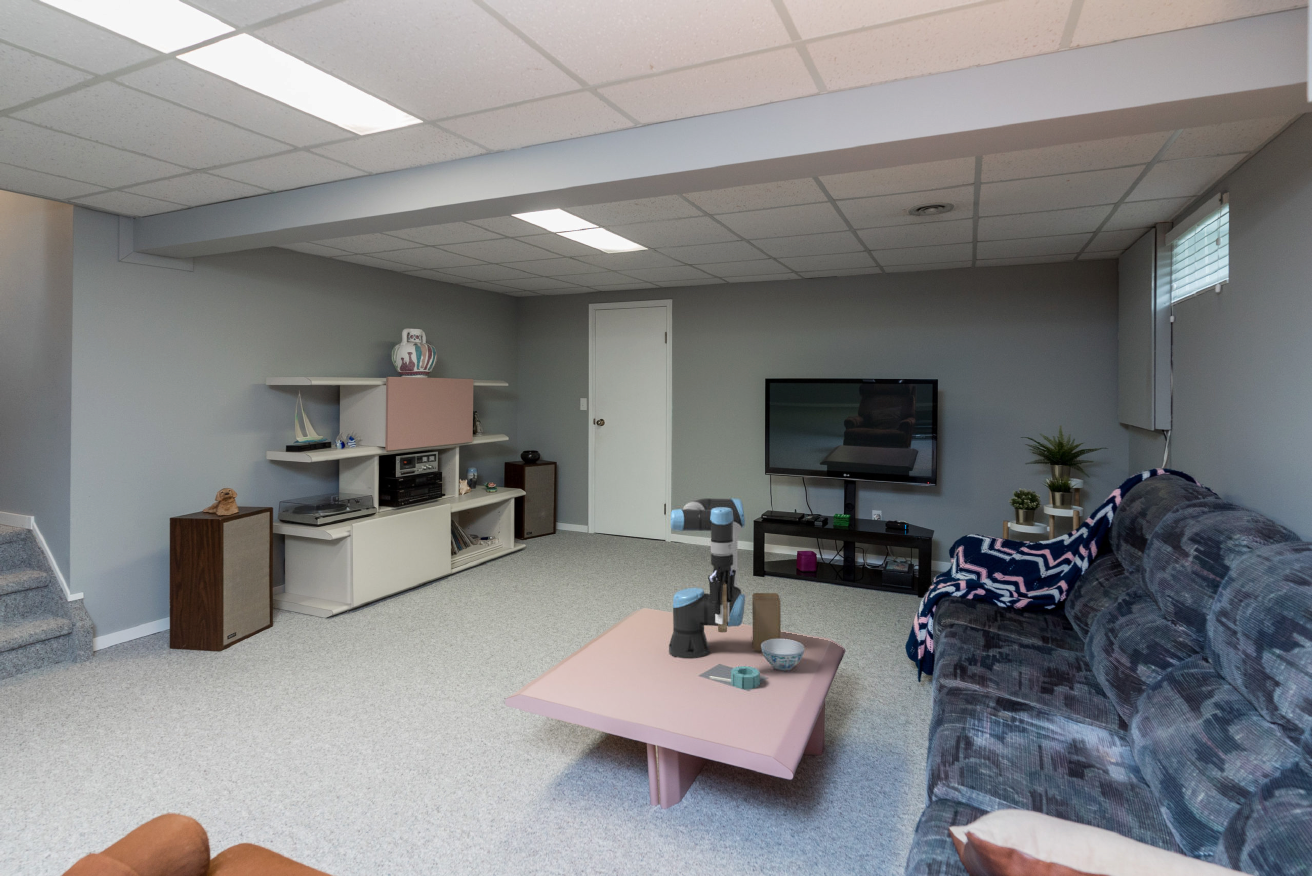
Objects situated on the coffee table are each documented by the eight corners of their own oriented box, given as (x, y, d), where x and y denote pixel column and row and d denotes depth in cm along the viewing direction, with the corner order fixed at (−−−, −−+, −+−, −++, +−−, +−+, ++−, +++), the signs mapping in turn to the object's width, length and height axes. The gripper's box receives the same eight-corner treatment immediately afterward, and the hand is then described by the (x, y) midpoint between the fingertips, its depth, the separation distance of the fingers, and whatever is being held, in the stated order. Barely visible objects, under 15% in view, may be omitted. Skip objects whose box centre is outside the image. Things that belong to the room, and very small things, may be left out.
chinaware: (802, 678, 232) (802, 655, 231) (758, 673, 236) (758, 651, 236) (806, 661, 246) (806, 640, 246) (764, 657, 250) (764, 636, 250)
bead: (726, 684, 227) (726, 672, 226) (741, 675, 234) (740, 663, 233) (750, 691, 221) (749, 679, 221) (764, 682, 228) (764, 670, 228)
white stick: (709, 678, 232) (709, 676, 232) (710, 677, 232) (710, 675, 232) (732, 681, 228) (732, 680, 228) (732, 681, 229) (732, 679, 229)
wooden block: (778, 643, 264) (778, 592, 263) (780, 653, 254) (780, 600, 253) (752, 642, 265) (752, 591, 264) (753, 652, 255) (753, 599, 254)
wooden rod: (716, 631, 233) (715, 580, 232) (721, 628, 235) (721, 578, 235) (723, 632, 231) (723, 581, 230) (728, 630, 233) (728, 580, 233)
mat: (698, 676, 234) (698, 675, 234) (719, 664, 244) (719, 663, 244) (748, 692, 221) (748, 690, 221) (768, 678, 231) (768, 677, 231)
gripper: (717, 559, 224) (717, 630, 224) (744, 551, 236) (744, 618, 237) (698, 556, 228) (699, 625, 229) (726, 548, 241) (726, 614, 241)
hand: (722, 621), depth 233 cm, fingers closed on wooden rod, 3 cm apart
